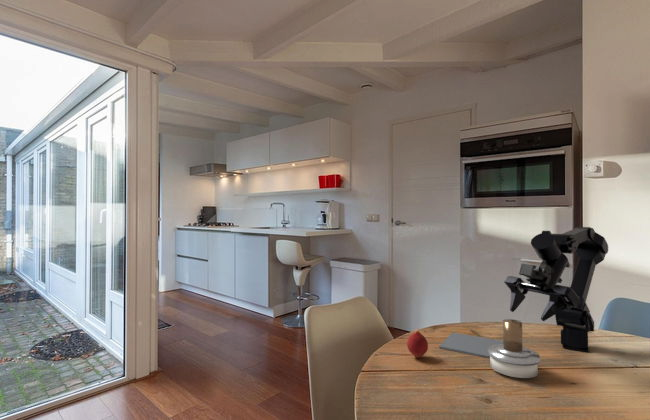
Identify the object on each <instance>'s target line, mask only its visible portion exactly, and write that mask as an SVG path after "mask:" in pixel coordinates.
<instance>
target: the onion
mask: <svg viewBox="0 0 650 420" xmlns="http://www.w3.org/2000/svg"><path fill="white" fill-rule="evenodd" d="M406 348H407V349H408V351H409V352H410V354H412V356H414V358H417V359H419V358H421V357H422V356H424V355H425V354H426V353H427V352H428V350H429V343H428V341H427V339H426V337H425V336H424V335H423V334H422V333H421V332H419V330H418V329H414V333H412V334H410V336H409V337H408V338H407V342H406Z"/></svg>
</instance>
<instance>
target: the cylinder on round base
mask: <svg viewBox="0 0 650 420" xmlns="http://www.w3.org/2000/svg"><path fill="white" fill-rule="evenodd" d="M502 325H503V326H502V330H503V332H502V333H503V334H502V335H503V336H502V337H503V340H502V341H503V342H504V344H496V345H491V346H489V347H488V354H489V356H491V357H492V358H494V359H496V360H498V361H501V362H504V363H508V364H513V365H520V366H531V365H536V364H539V363H540V362H541V356H540V354H539V353H537V352H536V351H535V350H533V349H530V348H528V347H524V346H523V322H522V321H520V320H517V319H509V318H507V319H503V320H502Z"/></svg>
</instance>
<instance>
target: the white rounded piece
mask: <svg viewBox="0 0 650 420" xmlns="http://www.w3.org/2000/svg"><path fill="white" fill-rule="evenodd" d="M538 364H539V363H538ZM538 364H536V365H531V366H520V365H513V364H508V363H504V362H501V361H498V360H496V359H494V358H492V357H491V356H490V358H489V366H490V368H491V369H492V370H494V371H495V372H497V373H498V374H502V375H505V376H509V377H512V378H520V379H531V378H535V377H537V376H538V374H539V369H538V368H539V365H538Z"/></svg>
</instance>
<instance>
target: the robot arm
mask: <svg viewBox="0 0 650 420" xmlns="http://www.w3.org/2000/svg"><path fill="white" fill-rule="evenodd" d="M530 244H531V246H532V248H533V250H534V252H535V253H536V254H537V256H538V258H539V259H541V262H540V264H539V265H535V264H528V263H521V264H520V267H519V272H518V275H520V276H523V277H526V278H525V280H526V281H527V282H529V283H526V282H525V281H524V280H523V279H522V278H521V277H517V276H513V275H508V276H506V278H505V280H504V281H503V282H504V284H505V285H506V286H507V288H508V289H509V290H510V304H509V305H510V307H509V310H510V311H511V312H512V313H514V312H515V311H516V310H517V309H518V307H519V306H520V305H521V304H522V302H523V301H524V300H525V299H526V295H527V294H528V292H532V293H535V294H542V295H546V296H549V297H548V302H547V303H546V306H545V308H544V309H543V312H542V313H541V317H540V320H541V321H542V322H545V321H546V320H548V319H550V318H552V317H553V316H555V317H554V318H555V323H556V326H559V327H562V328H561V329H560V345H562V348H563V349H567V350H573V351H579V352H580V351H581V352H585V353H589V352H590V349H589V333H590V332H595V320H594V319H593V317H592V315H591V311H590V309H589V306H588V304H587V297H588V295H589V291H590V287H591V285H592V280H593V275H594V273H595V270H596V269H595V268H596V266H598V264H600V263H601V262H603V261H604V259H605V258H606V256H607V254H608V252H609V244H608V242H607V240H606V238H605V237H604V236H602V234H599V233H598V232H596V231H595V229H594V228H593V227H590V226H575V227H574V228H573V229H571V230H568V231H566V232H563V233H552V232H551V230H542V231H541V233H538V234H536V235H535V236H533V237H532V238H531V240H530ZM574 253H576V255H577V257H578V261H577V264H576V267H575V271H574V275H573V278H572V281H571V284H570V286H567V285H566V286H565V285H560V284H562V282H563V279H562V277H561V276H562V274H563V273H564V271H565V270H566V268H570V262H569V259H568V257H567V255H566V254H568V255H571V254H574Z"/></svg>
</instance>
